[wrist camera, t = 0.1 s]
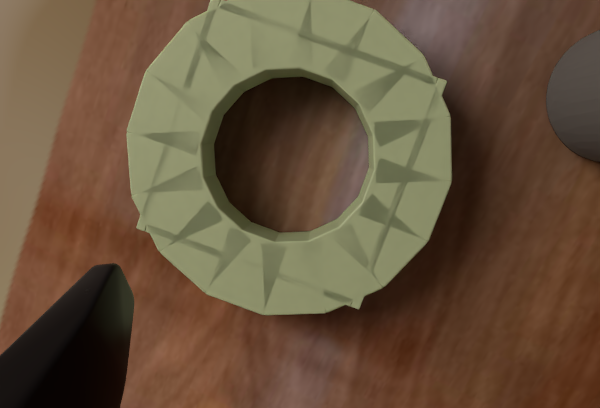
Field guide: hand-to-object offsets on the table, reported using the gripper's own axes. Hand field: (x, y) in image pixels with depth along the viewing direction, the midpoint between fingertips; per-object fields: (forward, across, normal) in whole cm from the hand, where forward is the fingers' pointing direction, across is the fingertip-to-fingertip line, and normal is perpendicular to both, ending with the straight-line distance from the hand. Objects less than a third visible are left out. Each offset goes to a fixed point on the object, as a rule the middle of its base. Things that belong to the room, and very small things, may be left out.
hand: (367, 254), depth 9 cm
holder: (+14, +2, +6) cm, 15 cm away
